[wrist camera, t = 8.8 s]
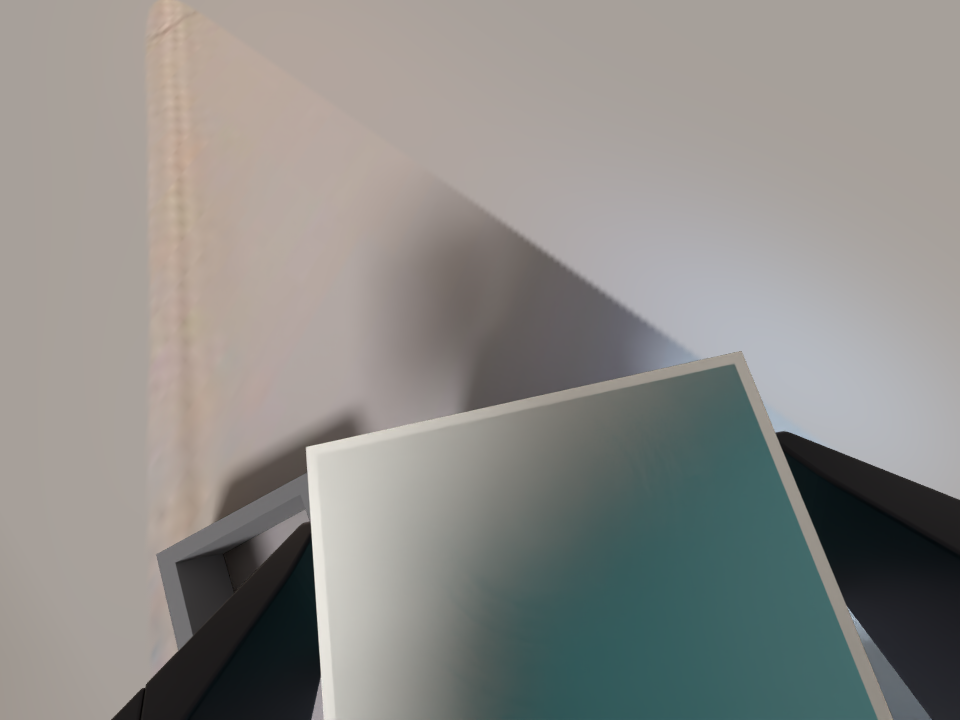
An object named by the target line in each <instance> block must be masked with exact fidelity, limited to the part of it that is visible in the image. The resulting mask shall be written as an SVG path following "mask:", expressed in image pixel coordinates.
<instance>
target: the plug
mask: <svg viewBox="0 0 960 720" xmlns="http://www.w3.org/2000/svg"><path fill="white" fill-rule="evenodd" d="M306 457H307V472H308V487H309V502H310V518H311V533H312V548H313V563H314V578H315V593H316V608H317V623H318V638H319V653H320V668H321V683H322V698H323V713H324V720H893V717H892V715H891V713H890V710H889V708H888V705H887V703H886V700H885V698H884V696H883V693H882V691H881V688H880V686H879V683H878V681H877V679H876V676H875V674H874V671H873V669H872V667H871V664H870V662H869V659H868V657H867V654H866V652H865V650H864V647H863V645H862V642H861V640H860V637H859V635H858V633H857V630H856V628H855V625H854V623H853V620H852V618H851V616H850V613H849V611H848V608H847V606H846V603H845V601H844V599H843V596H842V594H841V591H840V589H839V586H838V584H837V582H836V579H835V577H834V574H833V572H832V569H831V567H830V565H829V562H828V560H827V557H826V555H825V552H824V550H823V548H822V545H821V543H820V540H819V538H818V535H817V533H816V531H815V528H814V526H813V523H812V521H811V519H810V516H809V514H808V511H807V509H806V506H805V504H804V502H803V499H802V497H801V494H800V492H799V489H798V487H797V485H796V482H795V480H794V477H793V475H792V472H791V470H790V468H789V465H788V463H787V460H786V458H785V455H784V453H783V451H782V448H781V446H780V443H779V441H778V438H777V436H776V434H775V431H774V429H773V426H772V424H771V421H770V419H769V417H768V414H767V412H766V409H765V407H764V404H763V402H762V400H761V397H760V395H759V392H758V390H757V387H756V385H755V383H754V380H753V378H752V375H751V373H750V371H749V368H748V366H747V363H746V361H745V359H744V356H743V354H742V351H739V352H734V353H730V354H726V355H721V356H717V357H712V358H707V359H703V360H698V361H694V362H689V363H685V364H680V365H676V366H671V367H667V368H662V369H657V370H653V371H648V372H644V373H639V374H635V375H630V376H626V377H621V378H617V379H612V380H608V381H603V382H599V383H594V384H590V385H585V386H580V387H576V388H571V389H567V390H562V391H558V392H553V393H549V394H544V395H540V396H535V397H531V398H526V399H522V400H517V401H513V402H508V403H503V404H499V405H494V406H490V407H485V408H481V409H476V410H472V411H467V412H463V413H458V414H454V415H449V416H445V417H440V418H436V419H431V420H426V421H422V422H417V423H413V424H408V425H404V426H399V427H395V428H390V429H386V430H381V431H377V432H372V433H368V434H363V435H359V436H354V437H349V438H345V439H340V440H336V441H331V442H327V443H322V444H318V445H313V446H309V447H306Z"/></svg>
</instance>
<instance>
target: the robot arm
mask: <svg viewBox="0 0 960 720" xmlns="http://www.w3.org/2000/svg"><path fill="white" fill-rule="evenodd" d="M775 434H776V436H777V438H778V441H779V443H780V446H781V448H782V451H783V453H784V455H785V458H786V460H787V463H788V465H789V468H790V470H791V472H792V475H793V477H794V480H795V482H796V485H797V487H798V489H799V492H800V494H801V497H802V499H803V502H804V504H805V506H806V509H807V511H808V514H809V516H810V519H811V521H812V523H813V526H814V528H815V531H816V533H817V535H818V538H819V540H820V543H821V545H822V548H823V550H824V552H825V555H826V557H827V560H828V562H829V565H830V567H831V569H832V572H833V574H834V577H835V579H836V582H837V584H838V586H839V589H840V591H841V594H842V596H843V599H844V601H845V603H846V605H847V607H848V608H849V609H850V611H851V612H852V613H853V615H854V616H855V617H856V619H857V620H858V621H859V623H860V624H861V625H862V627H863V628H864V629H865V631H866V632H867V633H868V635H869V636H870V637H871V639H872V640H873V641H874V643H875V644H876V645H877V647H878V648H879V649H880V651H881V652H882V653H883V655H884V656H885V657H886V659H887V660H888V661H889V663H890V664H891V665H892V667H893V668H894V669H895V671H896V672H897V673H898V675H899V676H900V677H901V679H902V680H903V681H904V683H905V684H906V685H907V687H908V688H909V689H910V691H911V692H912V693H913V695H914V696H915V697H916V699H917V700H918V701H919V703H920V704H921V705H922V707H923V708H924V709H925V711H926V712H927V713H928V715H929V716H930V717H931V719H932V720H960V500H958V499H956V498H953V497H951V496H948V495H946V494H943V493H941V492H938V491H936V490H933V489H931V488H928V487H926V486H923V485H921V484H918V483H916V482H913V481H911V480H908V479H906V478H903V477H900V476H898V475H896V474H893V473H890V472H888V471H885V470H883V469H880V468H878V467H875V466H873V465H870V464H868V463H865V462H863V461H860V460H858V459H855V458H852V457H850V456H848V455H845V454H843V453H840V452H838V451H835V450H833V449H830V448H827V447H825V446H822V445H820V444H817V443H815V442H812V441H810V440H807V439H805V438H802V437H800V436H797V435H795V434H792V433H789V432H785V431H783V432H777V433H775ZM320 677H321V668H320V653H319V638H318V623H317V608H316V593H315V578H314V563H313V548H312V533H311V521H310V522H305V523H303V524H301V525H300V526H299V527H298V528H297V529H296V530H295V531H294V532H293V533H292V534H291V535H290V536H289V537H288V538H287V539H286V540H285V541H284V542H283V543H282V545H281V546H280V547H279V548H278V549H277V550H276V551H275V552H274V553H273V554H272V555H271V556H270V557H269V558H268V559H267V560H266V561H265V562H264V563H263V564H262V565H261V566H260V567H259V568H258V569H257V570H256V571H255V572H254V573H253V574H252V575H251V576H250V578H249V579H248V580H247V581H246V582H245V583H244V584H243V585H242V586H241V587H240V588H239V589H238V590H237V591H236V592H235V593H234V594H233V595H232V596H231V597H230V598H229V599H228V600H227V601H226V602H225V603H224V604H223V605H222V606H221V607H220V608H219V609H218V611H217V612H216V613H215V614H214V615H213V616H212V617H211V618H210V619H209V620H208V621H207V622H206V623H205V624H204V625H203V626H202V627H201V628H200V629H199V630H198V631H197V632H196V633H195V634H194V635H193V636H192V637H191V638H190V639H189V640H188V641H187V642H186V644H185V645H184V646H183V647H182V648H181V649H180V650H179V651H178V652H177V653H176V654H175V655H174V656H173V657H172V658H171V659H170V660H169V661H168V662H167V663H166V664H165V665H164V666H163V667H162V668H161V669H160V670H159V671H158V672H157V673H156V674H155V675H154V676H153V678H152V679H151V680H150V681H149V682H148V683H147V684H146V687H145V688H142V689H141V690H140V691H139V692H138V693H137V694H136V695H135V696H134V697H133V698H132V699H131V700H130V701H129V702H128V703H127V704H126V705H125V706H124V707H123V708H122V709H121V710H120V711H119V712H118V713H117V715H115V716H114V718H113V719H111V720H311V718H312V714H313V709H314V705H315V700H316V695H317V691H318V686H319V682H320Z"/></svg>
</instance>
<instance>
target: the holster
mask: <svg viewBox="0 0 960 720" xmlns="http://www.w3.org/2000/svg"><path fill="white" fill-rule="evenodd" d="M304 509H306V512H307V515H308V518H309V520H310V521H311V518H310V502H309V487H308V472H307V473H305V474H303V475H301V476H300V477H298V478H296V479H294V480H292V481H290V482H289V483H287V484H285V485H283V486H281V487H279V488H277V489H276V490H274V491H272V492H270V493H268V494H266V495H265V496H263V497H261V498H259V499H257V500H255V501H254V502H252V503H250V504H248V505H246V506H244V507H243V508H241V509H239V510H237V511H235V512H233V513H231V514H230V515H228V516H226V517H224V518H222V519H220V520H219V521H217V522H215V523H213V524H211V525H209V526H208V527H206V528H204V529H202V530H200V531H198V532H197V533H195V534H193V535H191V536H189V537H187V538H185V539H184V540H182V541H180V542H178V543H176V544H174V545H173V546H171V547H169V548H167V549H165V550H163V551H162V552H160V553H158V554H156V556H157V560H158V564H159V569H160V573H161V577H162V582H163V586H164V590H165V595H166V599H167V603H168V608H169V612H170V616H171V621H172V625H173V629H174V634H175V638H176V642H177V647H178V651H179V650H180V649H181V648H182V647H183V646H184V645H185V644H186V642H187V641H188V640H189V639H190V638H191V637H192V636H193V635H194V634H195V633H196V632H197V631H198V630H199V629H200V628H201V627H202V626H203V625H204V624H205V623H206V622H207V621H208V620H209V619H210V618H211V617H212V616H213V615H214V614H215V613H216V612H217V611H218V609H219V608H220V607H221V606H222V605H223V604H224V603H225V602H226V601H227V600H228V599H229V598H230V597H231V596H232V595H233V594H234V592H233V588H232V585H231V581H230V577H229V574H228V570H227V567H226V563H225V560H224V556H223V554H224V553H226V552H227V551H229V550H231V549H233V548H235V547H237V546H238V545H240V544H242V543H244V542H246V541H248V540H249V539H251V538H253V537H255V536H257V535H259V534H260V533H262V532H264V531H266V530H268V529H270V528H271V527H273V526H275V525H277V524H279V523H281V522H282V521H284V520H286V519H288V518H290V517H292V516H293V515H295V514H297V513H299V512H301V511H303V510H304ZM320 678H321V677H320Z"/></svg>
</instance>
